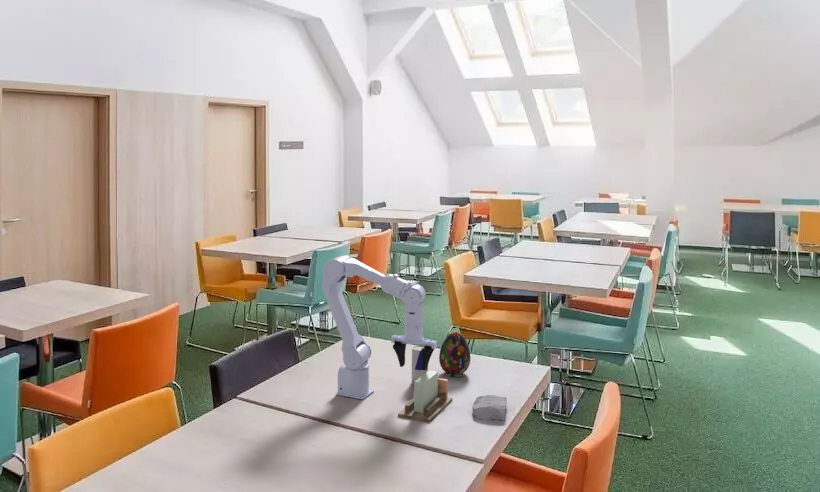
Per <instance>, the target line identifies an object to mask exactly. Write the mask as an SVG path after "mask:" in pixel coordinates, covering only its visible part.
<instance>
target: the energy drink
mask: <svg viewBox="0 0 820 492" xmlns="http://www.w3.org/2000/svg"><path fill="white" fill-rule="evenodd" d="M423 348H424V346H417V345H414V346H413V347H412V349H411V384H412V385H413V386H414V382H415V381H416V380H417V379H419V378H420V377H421V376H422V375H424V374H425V373H426V372H427V371H429V367H428V368H427V369H426V370H425V371H424V370H423V368H422V366H423V358H422V352H421V349H423Z"/></svg>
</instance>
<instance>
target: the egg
mask: <svg viewBox="0 0 820 492" xmlns="http://www.w3.org/2000/svg"><path fill="white" fill-rule="evenodd" d="M438 359H439V360H438V361H439V365H440V367H441V369H442V370H443V371H444V374H445V376H447V377H452V378H457V377H462V376H464V373H465V372H466V371H467V370H468V369H469V367H470V365H471V350H470V347H469V344H468V342H467V340H466V338H465V336H464V335H463V334H462V333H461V332H459V331H456V330H455V331H451V332H449V334H448V335H447V336H446V337H445V338H444V340H443V341H442V345H441V346H440V349H439V355H438Z"/></svg>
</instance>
